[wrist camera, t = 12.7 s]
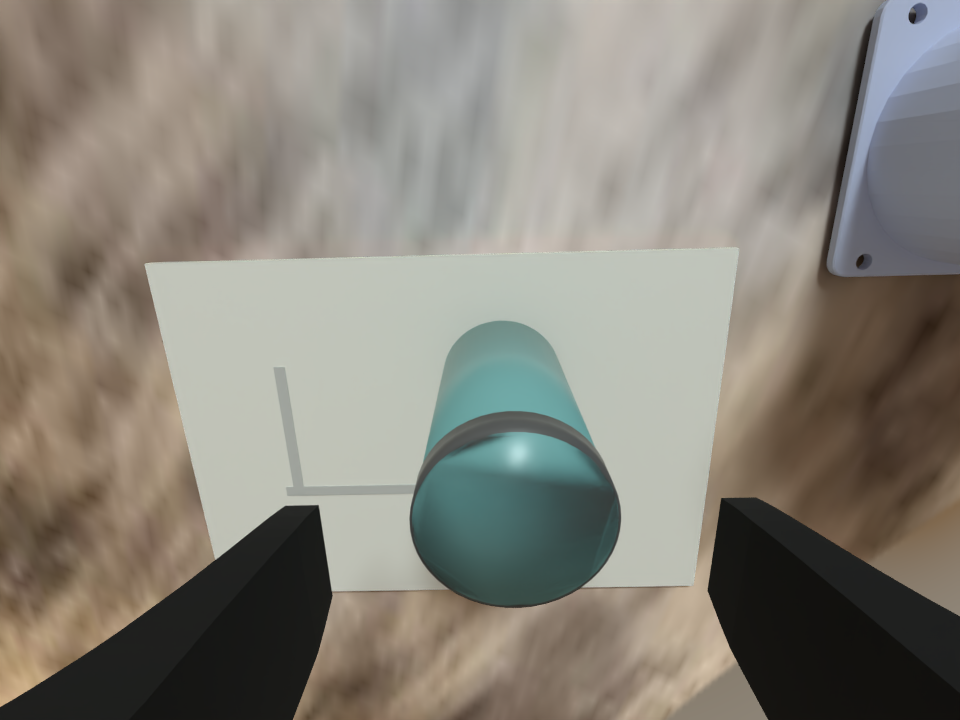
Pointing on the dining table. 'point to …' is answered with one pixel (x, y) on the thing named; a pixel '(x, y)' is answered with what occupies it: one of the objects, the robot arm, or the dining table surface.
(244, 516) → the paper pad
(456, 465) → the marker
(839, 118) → the dining table surface
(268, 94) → the dining table surface
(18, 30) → the dining table surface
